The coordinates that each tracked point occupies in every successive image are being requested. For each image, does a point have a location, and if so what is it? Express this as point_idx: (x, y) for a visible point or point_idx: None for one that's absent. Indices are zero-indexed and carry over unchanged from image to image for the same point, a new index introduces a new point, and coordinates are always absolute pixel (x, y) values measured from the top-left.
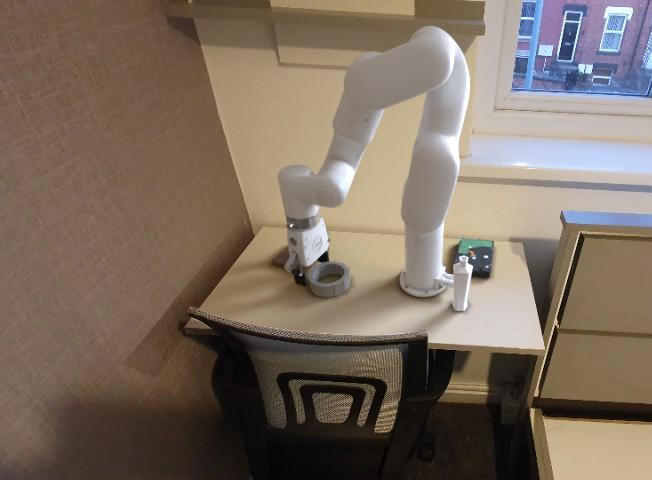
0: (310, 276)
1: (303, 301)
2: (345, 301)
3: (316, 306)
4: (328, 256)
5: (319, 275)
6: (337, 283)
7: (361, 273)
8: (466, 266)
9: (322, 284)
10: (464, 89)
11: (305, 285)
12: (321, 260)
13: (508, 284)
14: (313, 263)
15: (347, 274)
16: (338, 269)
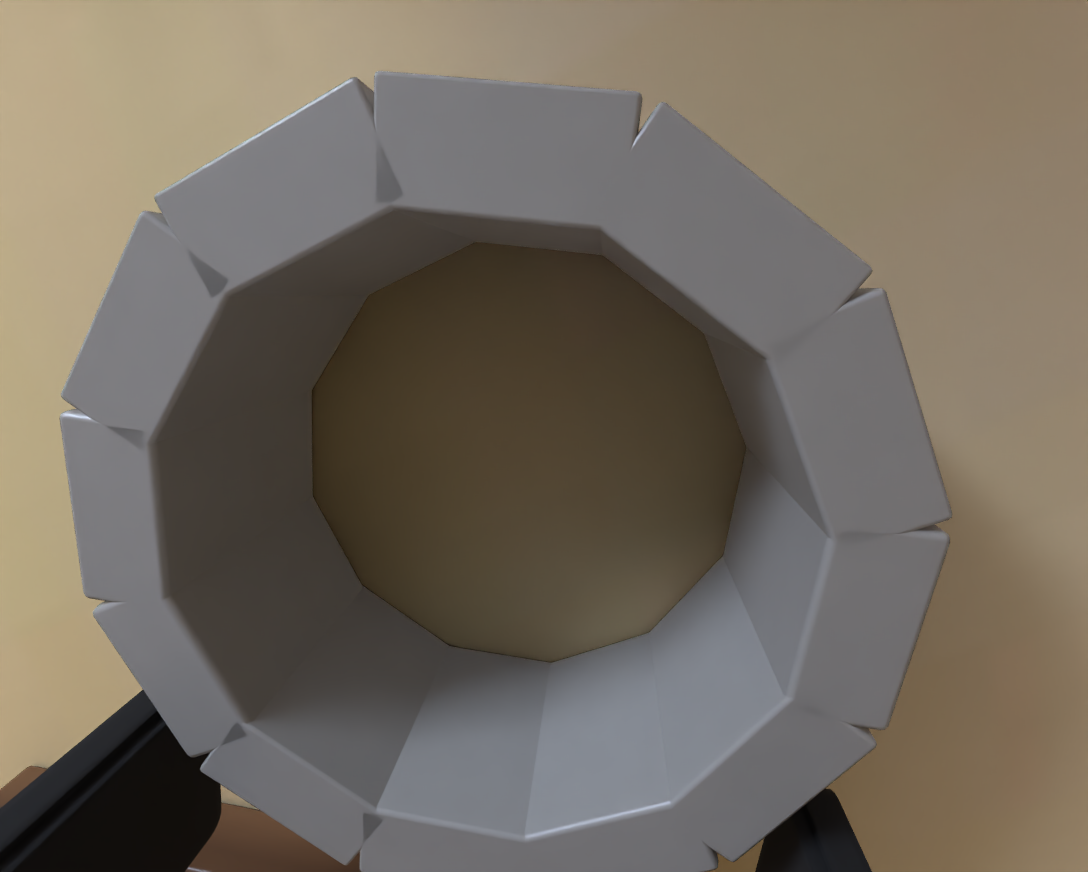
0: (660, 851)
1: (940, 666)
2: (858, 47)
3: (1032, 462)
4: (28, 790)
5: (444, 682)
6: (769, 215)
7: (139, 117)
8: None
9: (865, 555)
10: None
11: (838, 815)
12: (182, 813)
13: None
14: (247, 811)
15: (358, 120)
16: (241, 469)
